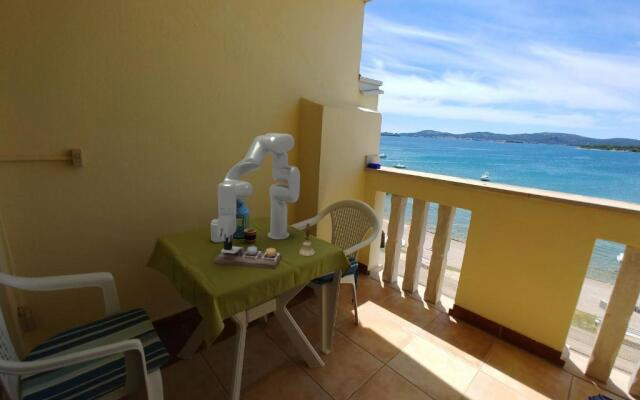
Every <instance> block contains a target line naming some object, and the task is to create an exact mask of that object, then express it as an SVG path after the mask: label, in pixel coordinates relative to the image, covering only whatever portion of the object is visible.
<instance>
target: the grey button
mask: <svg viewBox="0 0 640 400" xmlns="http://www.w3.org/2000/svg"><path fill="white" fill-rule="evenodd" d="M246 250H247V254H249V255H254V254H256V253H257V251H258V247H257V246H255V245H252V246H248V247H247V248H246Z"/></svg>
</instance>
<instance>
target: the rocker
mask: <svg viewBox="0 0 640 400" xmlns="http://www.w3.org/2000/svg"><path fill="white" fill-rule="evenodd" d="M240 248H242V250H243V249H244V247H243V246H233V245H232V249H231V250H224V248H222V249H221V252H225V253H236V252H238V250H239V249H240ZM221 252H220V253H221Z"/></svg>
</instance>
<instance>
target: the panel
mask: <svg viewBox="0 0 640 400" xmlns="http://www.w3.org/2000/svg"><path fill="white" fill-rule="evenodd" d="M281 258H282V252H278V251H276V254H275V256H272V257H269V256H266V250H257V253H256V254H254V255H249V254H247V248H246V249H244V248H243V250H242V248H240V249H239V250H238V252H236V253H225V252H220V253H219V254H218V255H217V256H216V257H215V258H213V263H214V264H217V265H218V264H219V265H220V264H221V265H229V266H239V267H241V266H242V267H250V268H251V267H252V268H259V269H260V268H261V269H271V270H275V269H276V266H277V265H278V263H279V261H280V259H281Z"/></svg>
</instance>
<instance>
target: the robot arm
mask: <svg viewBox="0 0 640 400" xmlns="http://www.w3.org/2000/svg"><path fill="white" fill-rule="evenodd" d="M294 146H295V139H294V136H293V135H292V134H290V133H279V132H267V133H266V134H264V135H257V136H256V137H255V138H254V139H253V141H252V143H251V145H250V146H249V149H248V150H247V152H246V155H245V156H244V158H243V159H242V160H240V161H239V162H238V163H236V164H235V165H234V166H232V167H231V168H230V169H229V170H228V172H227V173H226V175H225V177H224V179H223V181H222V182H219V184H218V185H217V204H218V205H217V206H218V207H217V211H218V218H217V219H218V228H217V235H218V237H220V236H222V238H221V241H223V242H222V243H223V249H224V250H231V249H232V246H233V238H234V237H233V235H234V233H235V232H237V199H242V198H243V199H244V198H245V199H246V198H248V197H249V196H251V195H252V193H253V191H254V190H253V189H254V188H253V185H252V184H251V182H248V181H247V180H239V179H241V177H242V176H244V175H246V174H249V173H252V172H254V171H257V170H259V169H260V168H261V167H262V165H263V163H264V160H265V158H266V156H267V155H268V154H271V157H272V164H271V165H272V166H271V167H272V168H271V169H272V170H271V171H272V172H271V173H272V174H271V175H272V176H271V177H272V178H273V180H274V181H276V182H280V183H274V184H271V186H270V187H269V189H268V190H269V192H268V193H269V199H270V231H269V232H268V233H267V237H268V238H269V239H273V240H285V239H287V238H289V236H290V233H289V232H288V230H287V229H288V227H287V226H288V204H287V203H286V202H288V203H296V202H297V201H298V200H299V197H300V188H301V187H300V186H301V185H300V184H301V173H300V170H299V168H298V167H296V166H293V165H289V157H288V153H287V152H289V151H291V150H292V149H293V148H294ZM281 182H282V183H281ZM283 183H284V184H283ZM285 183H287V184H285ZM225 237H226V238H225Z"/></svg>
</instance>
